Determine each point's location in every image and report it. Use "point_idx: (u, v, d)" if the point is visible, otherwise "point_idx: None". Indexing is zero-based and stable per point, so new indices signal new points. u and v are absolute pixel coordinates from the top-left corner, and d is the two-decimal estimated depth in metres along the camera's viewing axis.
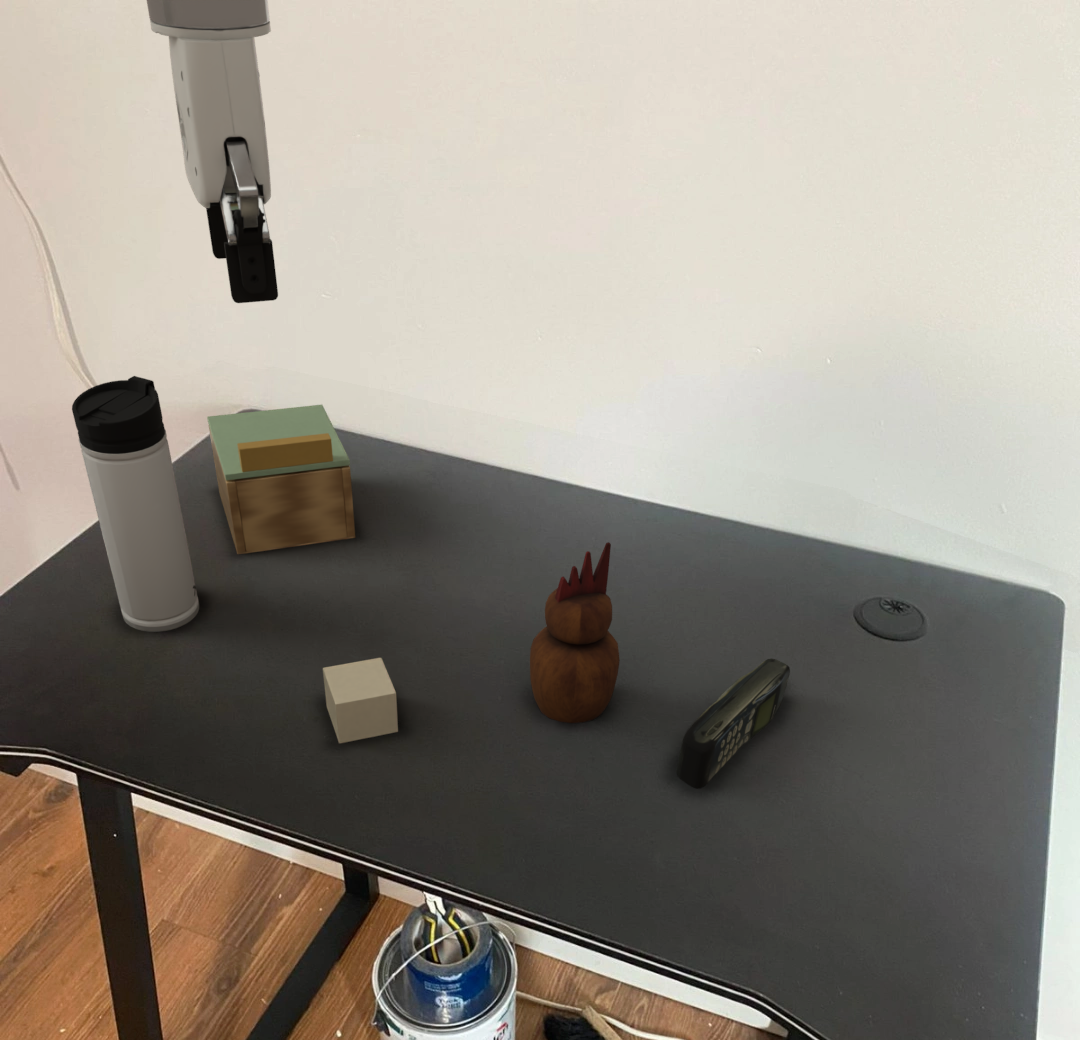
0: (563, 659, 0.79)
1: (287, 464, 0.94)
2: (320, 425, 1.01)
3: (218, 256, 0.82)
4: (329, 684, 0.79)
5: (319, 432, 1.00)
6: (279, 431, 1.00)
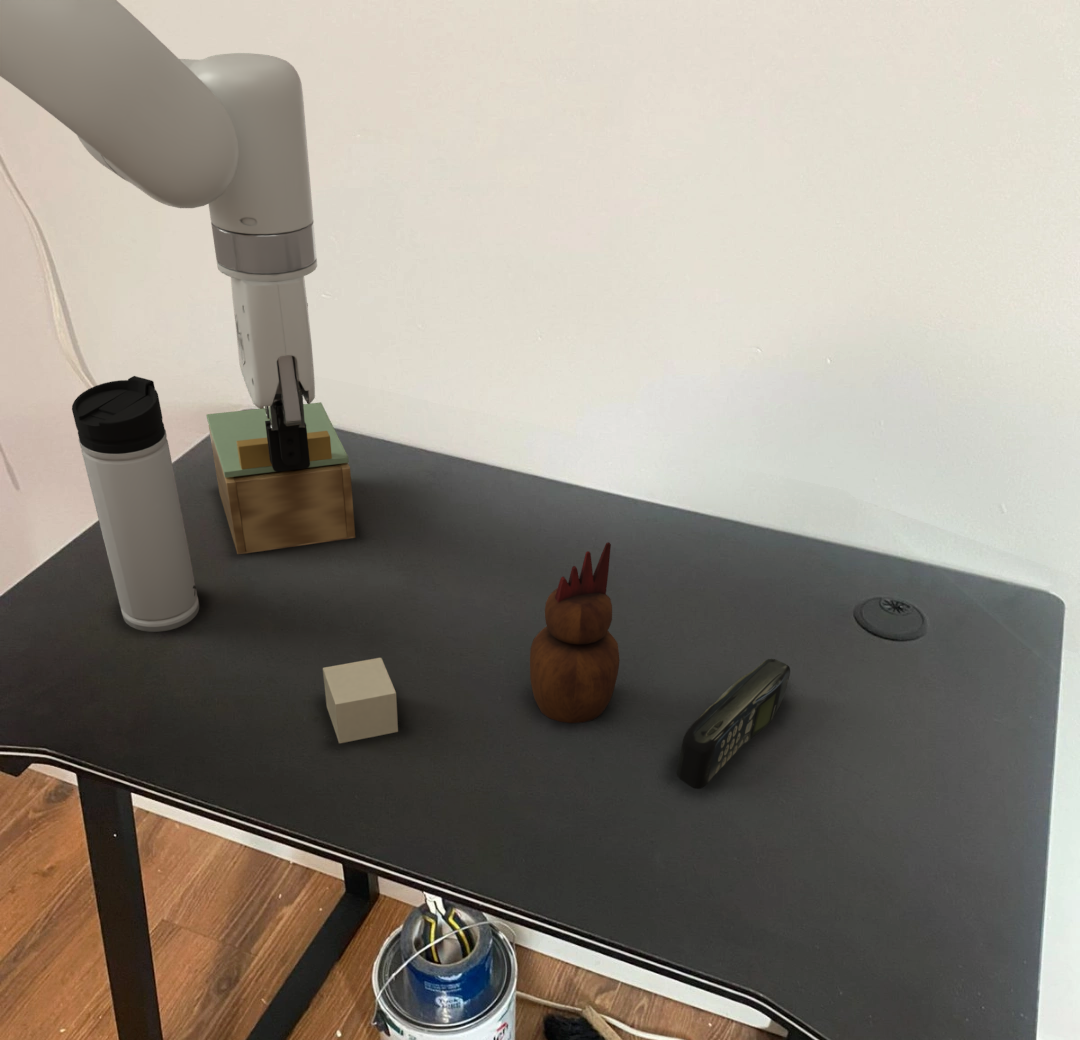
0: (563, 659, 0.79)
1: None
2: (319, 422, 1.01)
3: None
4: (329, 684, 0.79)
5: (318, 430, 1.00)
6: None
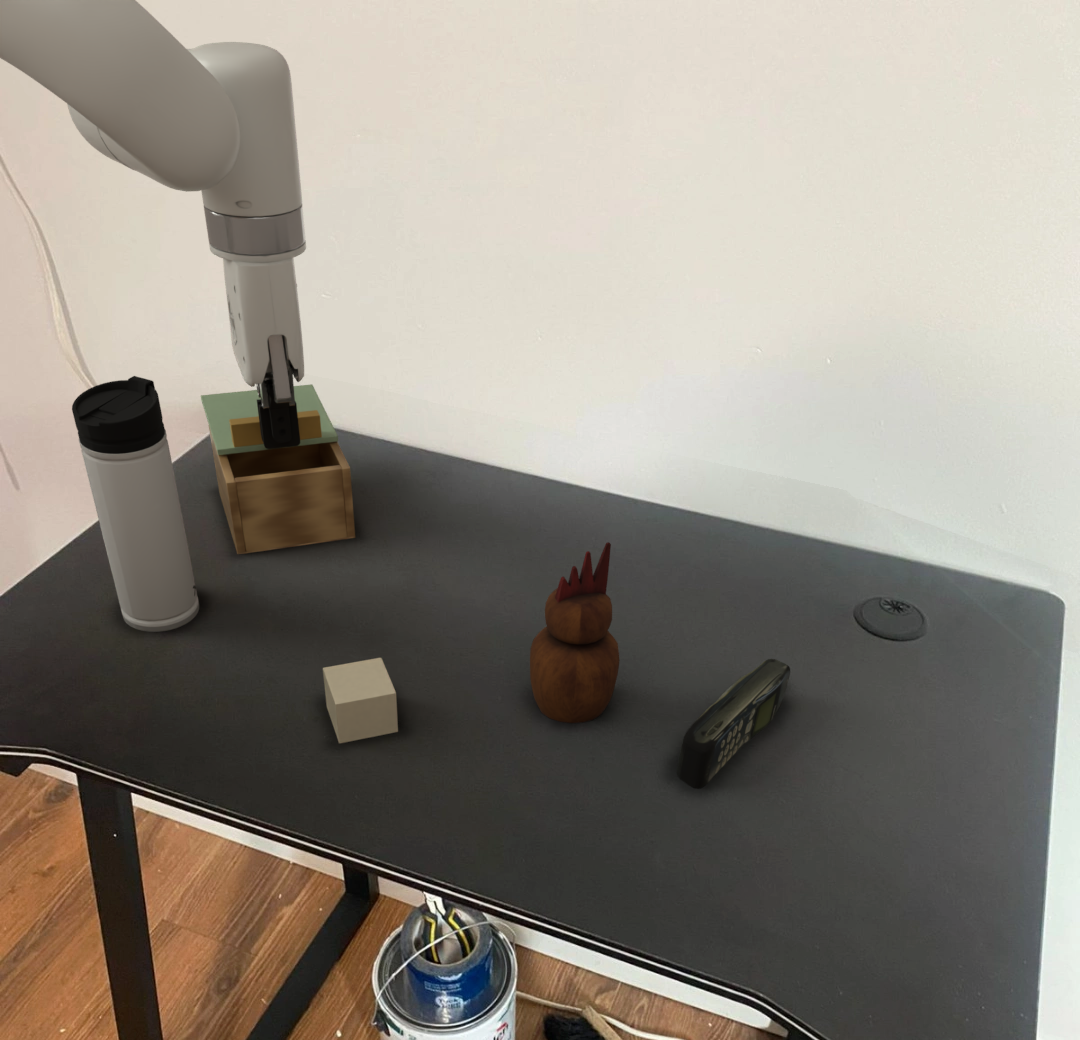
0: (563, 659, 0.79)
1: None
2: (310, 403, 1.05)
3: None
4: (329, 684, 0.79)
5: (309, 410, 1.03)
6: None
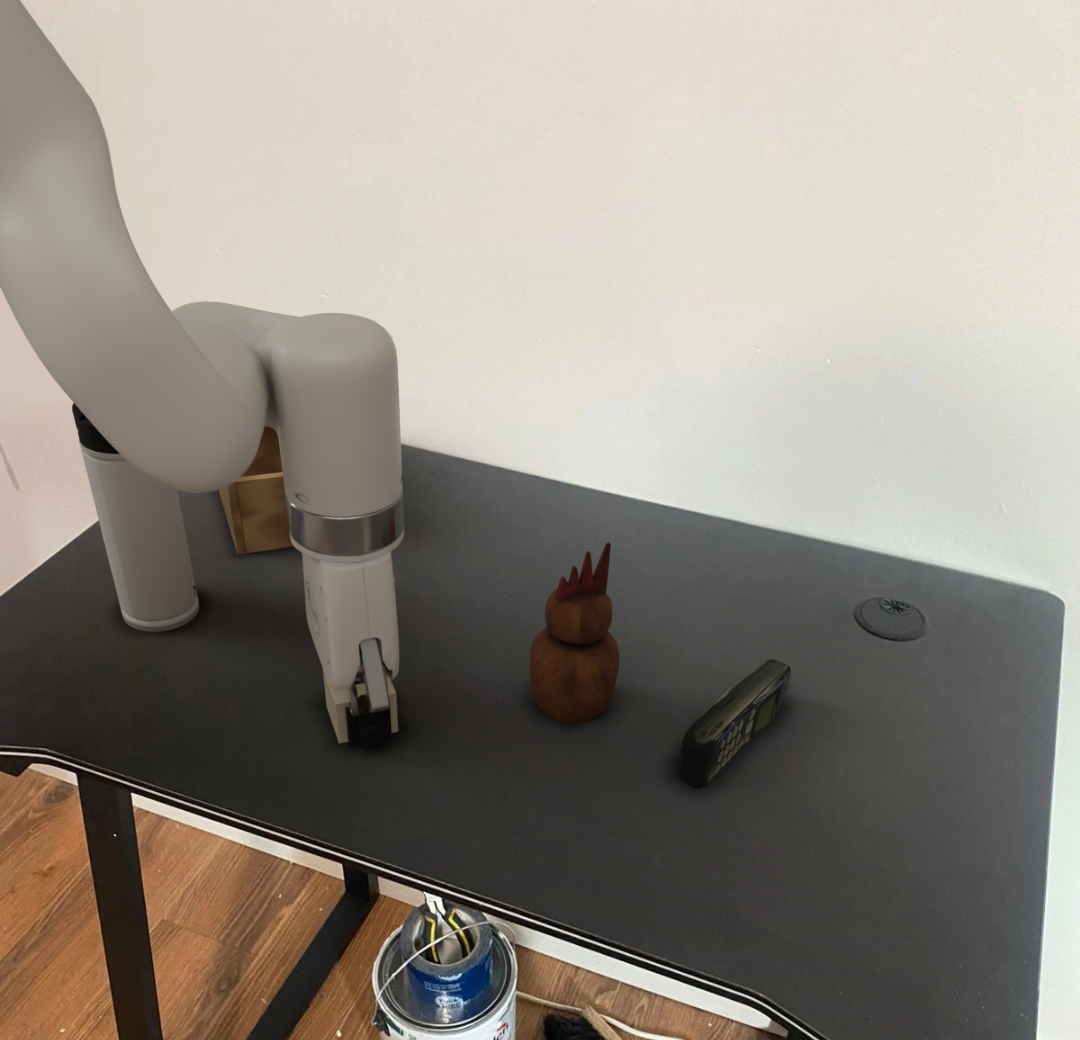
0: (563, 659, 0.79)
1: None
2: None
3: None
4: (329, 684, 0.79)
5: None
6: None
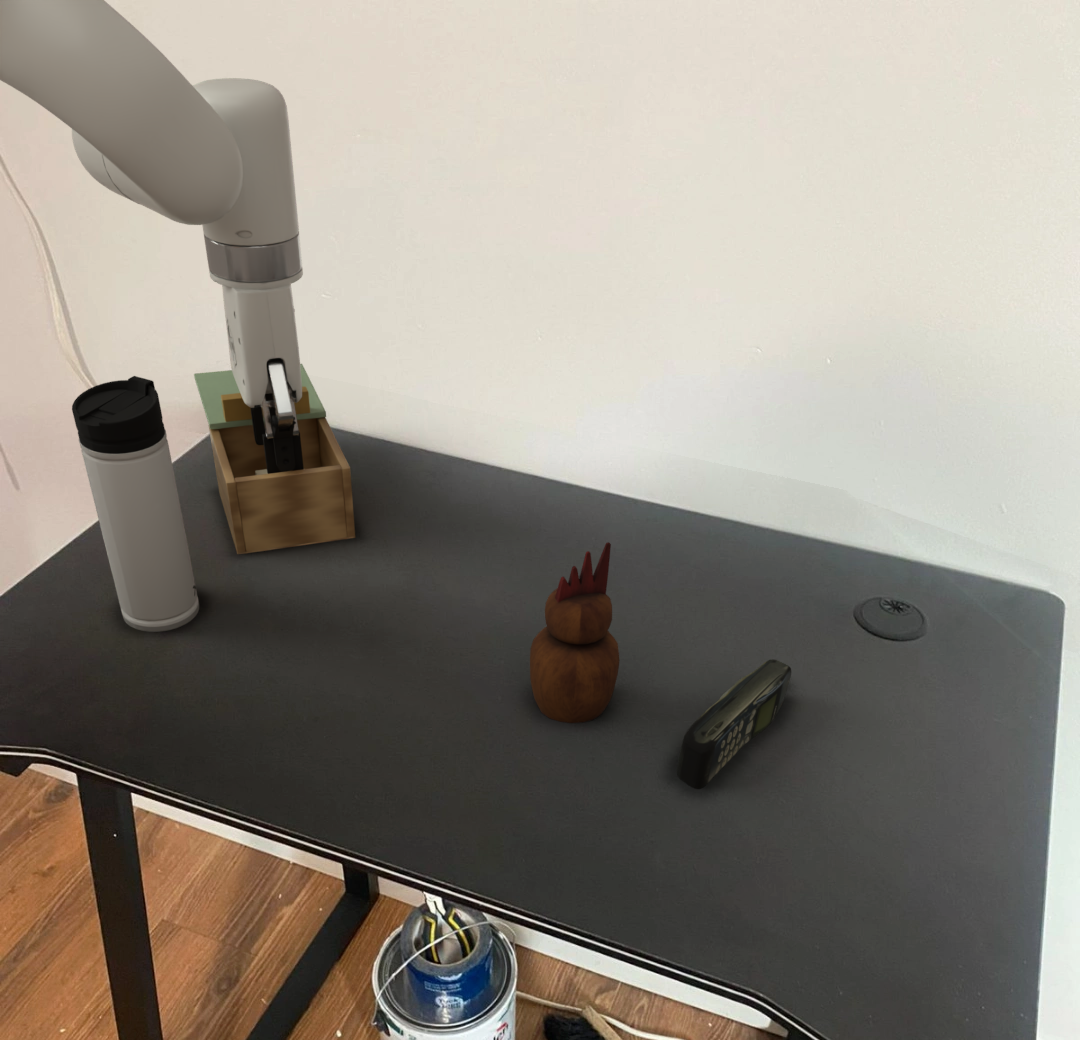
0: (563, 659, 0.79)
1: None
2: None
3: (259, 443, 1.01)
4: None
5: None
6: None
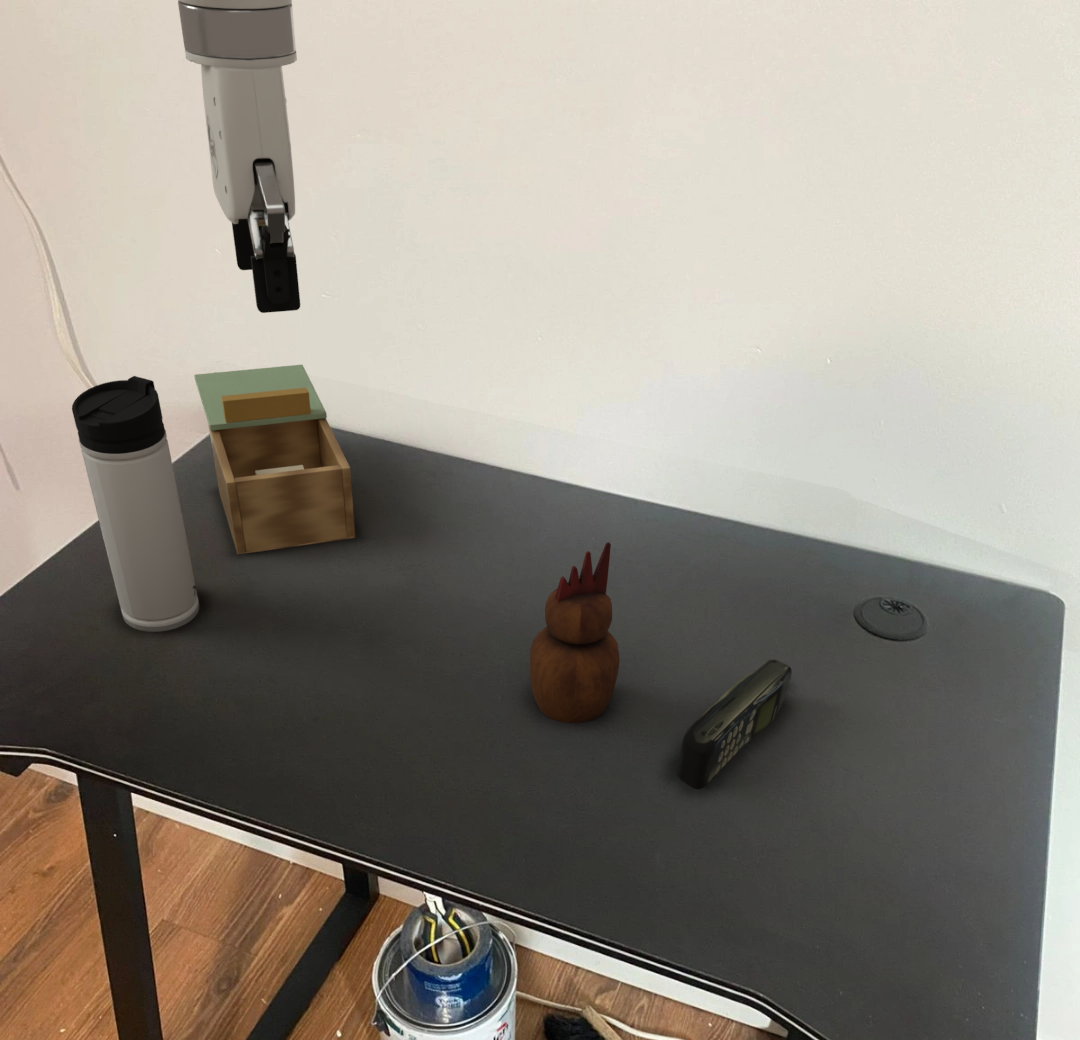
0: (563, 659, 0.79)
1: (268, 416, 1.01)
2: (300, 382, 1.08)
3: (242, 268, 0.87)
4: None
5: None
6: (261, 388, 1.07)
